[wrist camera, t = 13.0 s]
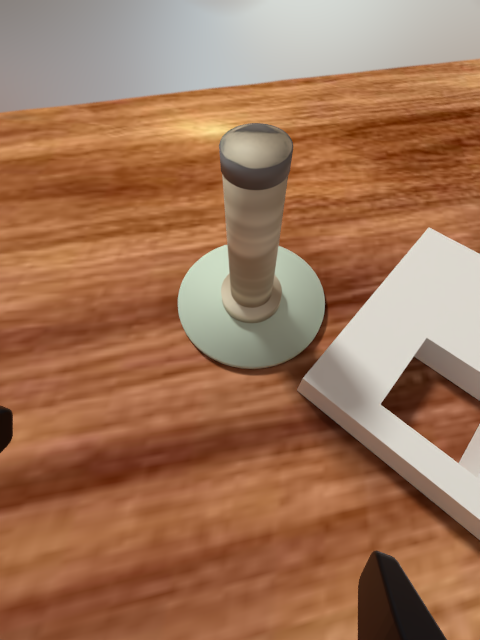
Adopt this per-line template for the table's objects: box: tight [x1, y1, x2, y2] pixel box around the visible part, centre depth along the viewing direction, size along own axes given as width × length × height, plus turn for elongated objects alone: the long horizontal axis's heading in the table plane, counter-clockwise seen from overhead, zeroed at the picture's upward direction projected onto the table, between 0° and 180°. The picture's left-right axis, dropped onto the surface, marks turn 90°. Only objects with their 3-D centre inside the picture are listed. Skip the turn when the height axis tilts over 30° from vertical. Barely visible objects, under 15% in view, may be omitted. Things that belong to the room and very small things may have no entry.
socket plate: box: [297, 228, 480, 540], centre depth 21 cm, size 16×14×2 cm
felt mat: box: [178, 245, 325, 369], centre depth 24 cm, size 11×11×1 cm
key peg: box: [219, 123, 293, 323], centre depth 19 cm, size 4×4×12 cm
